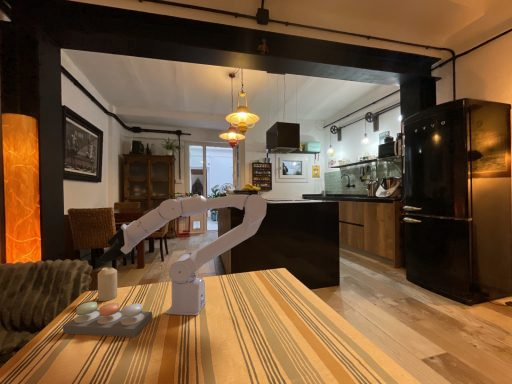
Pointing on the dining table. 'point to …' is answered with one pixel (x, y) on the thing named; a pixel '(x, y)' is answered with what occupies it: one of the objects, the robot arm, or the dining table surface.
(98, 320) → the button board
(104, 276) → the candle
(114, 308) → the terracotta button
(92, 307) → the green button
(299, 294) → the dining table surface
